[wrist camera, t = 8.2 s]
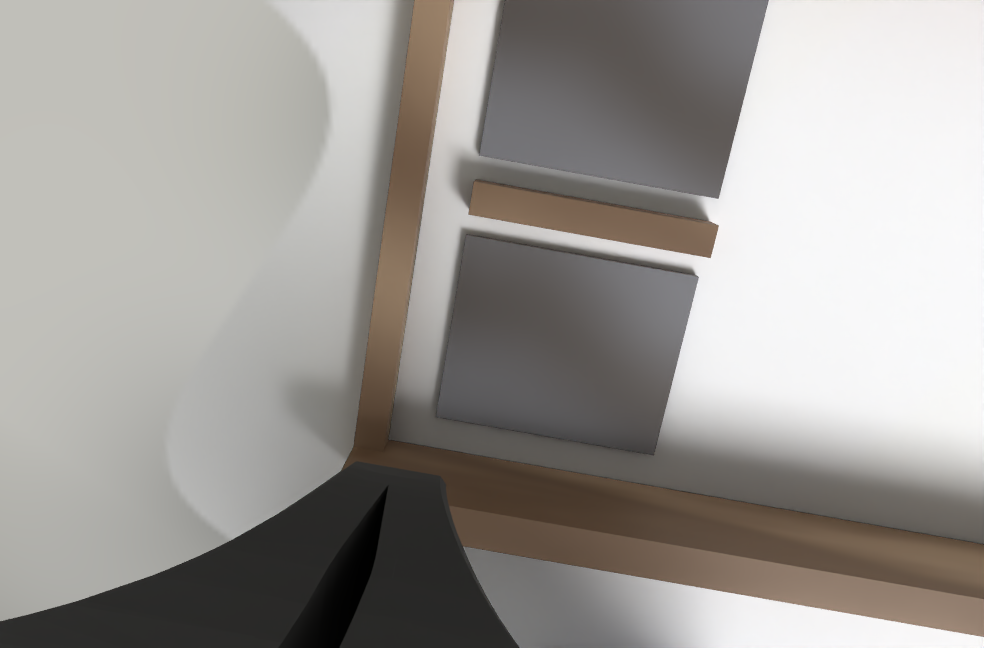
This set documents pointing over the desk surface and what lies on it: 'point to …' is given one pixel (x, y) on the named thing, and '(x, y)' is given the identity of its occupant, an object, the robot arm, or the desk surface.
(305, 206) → the desk surface
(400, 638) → the robot arm
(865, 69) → the desk surface
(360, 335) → the desk surface
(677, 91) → the trap box
